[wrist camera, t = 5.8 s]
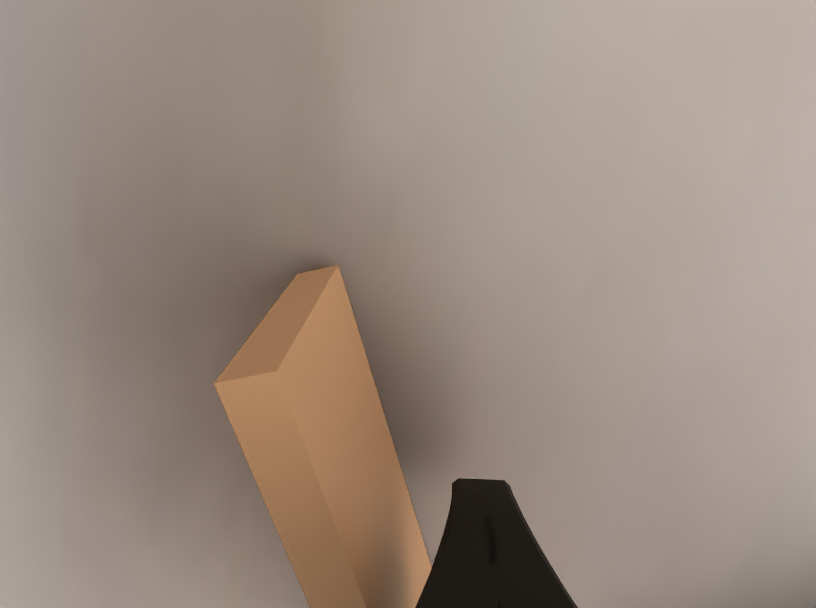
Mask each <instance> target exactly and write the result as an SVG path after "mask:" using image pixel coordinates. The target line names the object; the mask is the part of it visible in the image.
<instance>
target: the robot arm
mask: <svg viewBox="0 0 816 608" xmlns="http://www.w3.org/2000/svg"><path fill="white" fill-rule="evenodd" d="M415 608H578V607H577V606H576V604H575V603H574V601H573V600H572V598H571V597H570V595H569V594H568V592H567V591H566V589H565V588H564V586H563V584H562V583H561V581H560V580H559V578H558V576H557V575H556V573H555V571H554V570H553V568H552V566H551V565H550V563H549V561H548V560H547V558H546V556H545V555H544V553H543V551H542V550H541V548H540V546H539V544H538V543H537V541H536V539H535V537H534V535H533V534H532V532H531V530H530V528H529V526H528V524H527V522H526V520H525V518H524V516H523V514H522V512H521V510H520V508H519V506H518V504H517V502H516V500H515V497H514V495H513V493H512V490H511V488H510V486H509V485H508V484H507V483H506V482H505V481H504V480H483V479H460V478H459V479H457V480H456V481H455V482H453V483H452V499H451V505H450V510H449V515H448V519H447V523H446V526H445V530H444V534H443V537H442V540H441V543H440V546H439V549H438V551H437V554H436V557H435V560H434V563H433V566H432V569H431V571H430V574H429V576H428V579H427V581H426V583H425V586H424V588H423V591H422V593H421V595H420V598H419V600H418V602H417V605H416V607H415Z"/></svg>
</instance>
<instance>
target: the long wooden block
mask: <svg viewBox="0 0 816 608" xmlns="http://www.w3.org/2000/svg"><path fill="white" fill-rule="evenodd" d="M214 385H215V388H216V390H217V392H218V395H219V397H220V399H221V402H222V404H223V406H224V409H225V411H226V413H227V416H228V418H229V420H230V423H231V425H232V427H233V430H234V432H235V434H236V437H237V439H238V441H239V444H240V446H241V448H242V451H243V453H244V455H245V458H246V460H247V462H248V464H249V467H250V469H251V471H252V474H253V476H254V478H255V481H256V483H257V485H258V488H259V490H260V492H261V495H262V497H263V499H264V502H265V504H266V506H267V509H268V511H269V513H270V516H271V518H272V520H273V523H274V525H275V527H276V530H277V532H278V534H279V537H280V539H281V541H282V544H283V546H284V548H285V551H286V553H287V555H288V558H289V560H290V562H291V565H292V567H293V569H294V572H295V574H296V576H297V578H298V581H299V583H300V585H301V588H302V590H303V592H304V595H305V597H306V599H307V602H308V604H309V606H310V608H415V607H416V605H417V602H418V600H419V598H420V595H421V593H422V591H423V588H424V586H425V583H426V581H427V579H428V576H429V574H430V571H431V569H432V567H431V564H430V561H429V558H428V554H427V551H426V548H425V545H424V541H423V538H422V535H421V532H420V528H419V525H418V522H417V519H416V515H415V512H414V509H413V506H412V502H411V499H410V496H409V493H408V489H407V486H406V483H405V480H404V477H403V473H402V470H401V467H400V464H399V460H398V457H397V454H396V451H395V447H394V444H393V441H392V438H391V434H390V431H389V428H388V425H387V421H386V418H385V415H384V412H383V408H382V405H381V402H380V399H379V395H378V392H377V389H376V386H375V382H374V379H373V376H372V373H371V369H370V366H369V363H368V360H367V356H366V353H365V350H364V347H363V344H362V340H361V337H360V334H359V331H358V327H357V324H356V321H355V318H354V314H353V311H352V308H351V305H350V301H349V298H348V295H347V292H346V288H345V285H344V282H343V279H342V275H341V272H340V269H339V266H338V265H335V266H330V267H326V268H321V269H317V270H312V271H308V272H304V273H299V274H297V275H296V276H295V278H294V279H293V280H292V282H291V283H290V284H289V285H288V287H287V288H286V289H285V291H284V292H283V293H282V295H281V296H280V297H279V299H278V300H277V301H276V303H275V304H274V305H273V306H272V308H271V309H270V310H269V312H268V313H267V314H266V316H265V317H264V318H263V320H262V321H261V322H260V324H259V325H258V326H257V327H256V329H255V330H254V331H253V333H252V334H251V335H250V337H249V338H248V339H247V341H246V342H245V343H244V344H243V346H242V347H241V348H240V350H239V351H238V352H237V354H236V355H235V356H234V358H233V359H232V360H231V362H230V363H229V364H228V365H227V367H226V368H225V369H224V371H223V372H222V373H221V375H220V376H219V377H218V379H217V380H216V381H215V383H214Z"/></svg>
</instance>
